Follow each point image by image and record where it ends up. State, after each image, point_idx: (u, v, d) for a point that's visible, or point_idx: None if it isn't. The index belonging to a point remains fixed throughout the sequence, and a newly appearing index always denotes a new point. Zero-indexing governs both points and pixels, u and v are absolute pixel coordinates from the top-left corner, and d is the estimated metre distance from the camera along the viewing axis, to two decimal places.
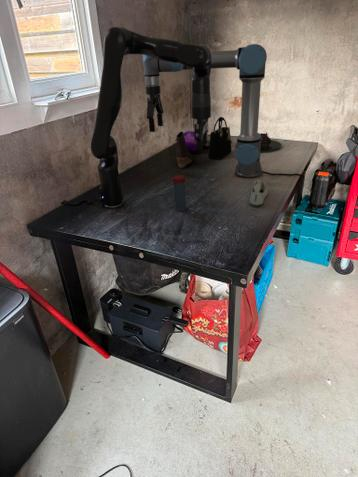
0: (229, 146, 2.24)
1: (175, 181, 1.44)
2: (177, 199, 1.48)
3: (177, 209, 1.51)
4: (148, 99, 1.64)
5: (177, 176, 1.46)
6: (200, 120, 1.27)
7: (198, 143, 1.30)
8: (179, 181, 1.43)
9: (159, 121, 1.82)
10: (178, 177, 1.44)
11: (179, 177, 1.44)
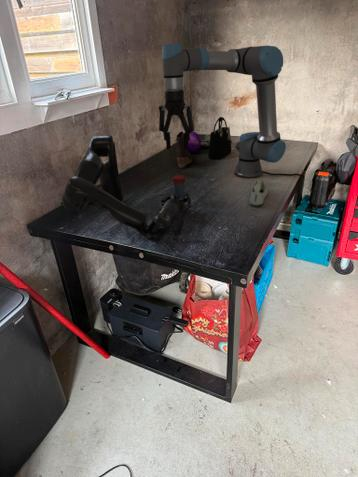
0: (229, 146, 2.24)
1: (175, 181, 1.44)
2: None
3: None
4: None
5: (177, 176, 1.46)
6: (182, 205, 1.41)
7: None
8: (179, 181, 1.43)
9: None
10: (178, 177, 1.44)
11: (179, 177, 1.44)
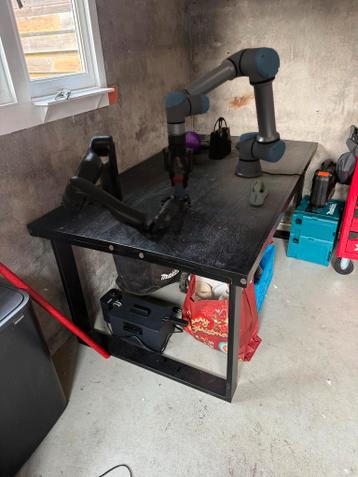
0: (229, 146, 2.24)
1: (175, 181, 1.44)
2: None
3: None
4: None
5: (177, 176, 1.46)
6: (182, 205, 1.41)
7: None
8: (179, 181, 1.43)
9: None
10: (178, 177, 1.44)
11: (179, 177, 1.44)
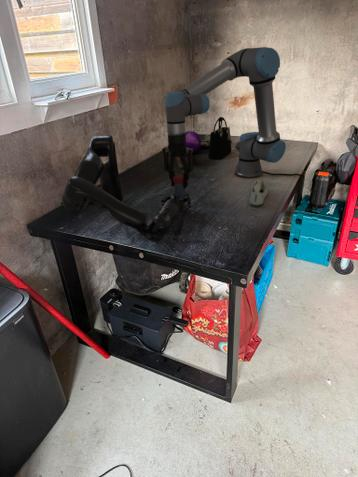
0: (229, 146, 2.24)
1: None
2: None
3: None
4: None
5: (177, 177, 1.44)
6: (182, 205, 1.41)
7: None
8: None
9: None
10: (180, 176, 1.45)
11: (180, 176, 1.45)
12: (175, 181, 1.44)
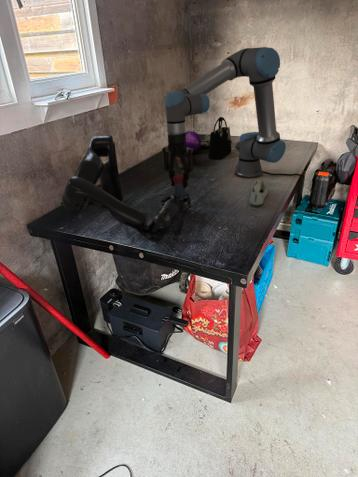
0: (229, 146, 2.24)
1: None
2: None
3: None
4: None
5: (181, 176, 1.45)
6: (182, 205, 1.41)
7: None
8: None
9: None
10: (178, 176, 1.45)
11: (177, 176, 1.45)
12: None
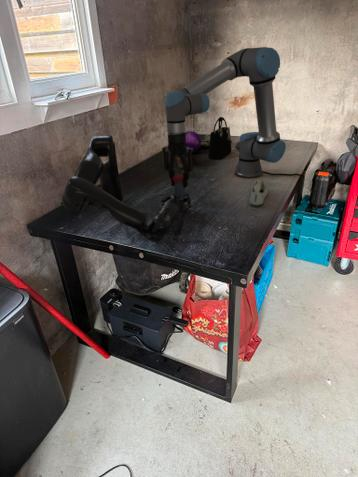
0: (229, 146, 2.24)
1: (173, 179, 1.45)
2: None
3: None
4: None
5: (178, 175, 1.46)
6: (182, 205, 1.41)
7: None
8: (176, 180, 1.43)
9: None
10: (177, 176, 1.44)
11: (178, 176, 1.44)
12: None
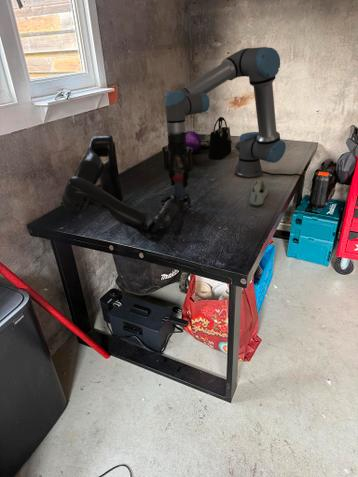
0: (229, 146, 2.24)
1: None
2: None
3: None
4: None
5: (176, 176, 1.44)
6: (182, 205, 1.41)
7: None
8: None
9: None
10: (180, 176, 1.44)
11: (180, 175, 1.45)
12: (173, 179, 1.45)
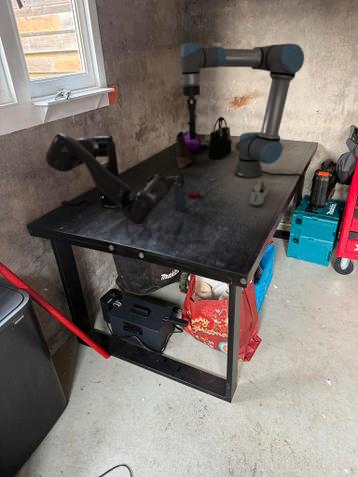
0: (229, 146, 2.24)
1: None
2: (177, 199, 1.48)
3: (177, 209, 1.51)
4: (190, 101, 1.37)
5: (195, 193, 1.64)
6: (171, 184, 1.23)
7: None
8: None
9: None
10: (194, 192, 1.65)
11: (193, 192, 1.65)
12: (197, 196, 1.63)
